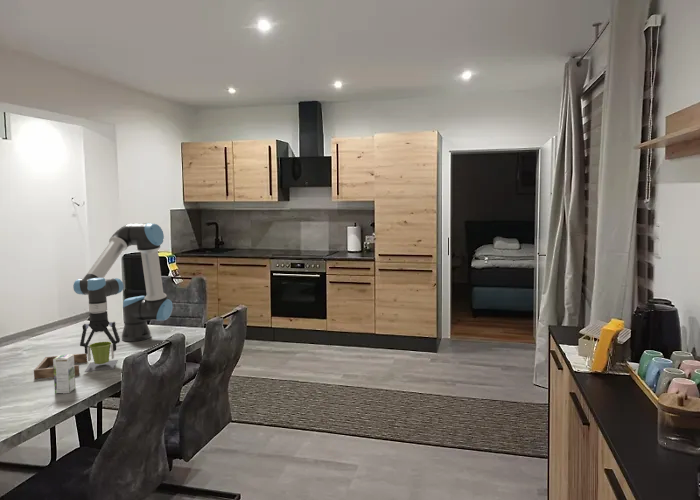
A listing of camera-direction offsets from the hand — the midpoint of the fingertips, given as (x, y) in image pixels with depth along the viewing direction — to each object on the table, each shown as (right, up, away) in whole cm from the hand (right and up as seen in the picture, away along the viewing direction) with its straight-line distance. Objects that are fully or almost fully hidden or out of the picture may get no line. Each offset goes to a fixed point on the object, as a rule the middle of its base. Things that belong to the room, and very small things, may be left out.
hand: (101, 359), depth 243 cm
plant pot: (0, -2, 0) cm, 2 cm away
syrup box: (+1, -7, -32) cm, 32 cm away
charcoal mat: (0, -3, 0) cm, 3 cm away
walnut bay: (-16, -4, -5) cm, 17 cm away
